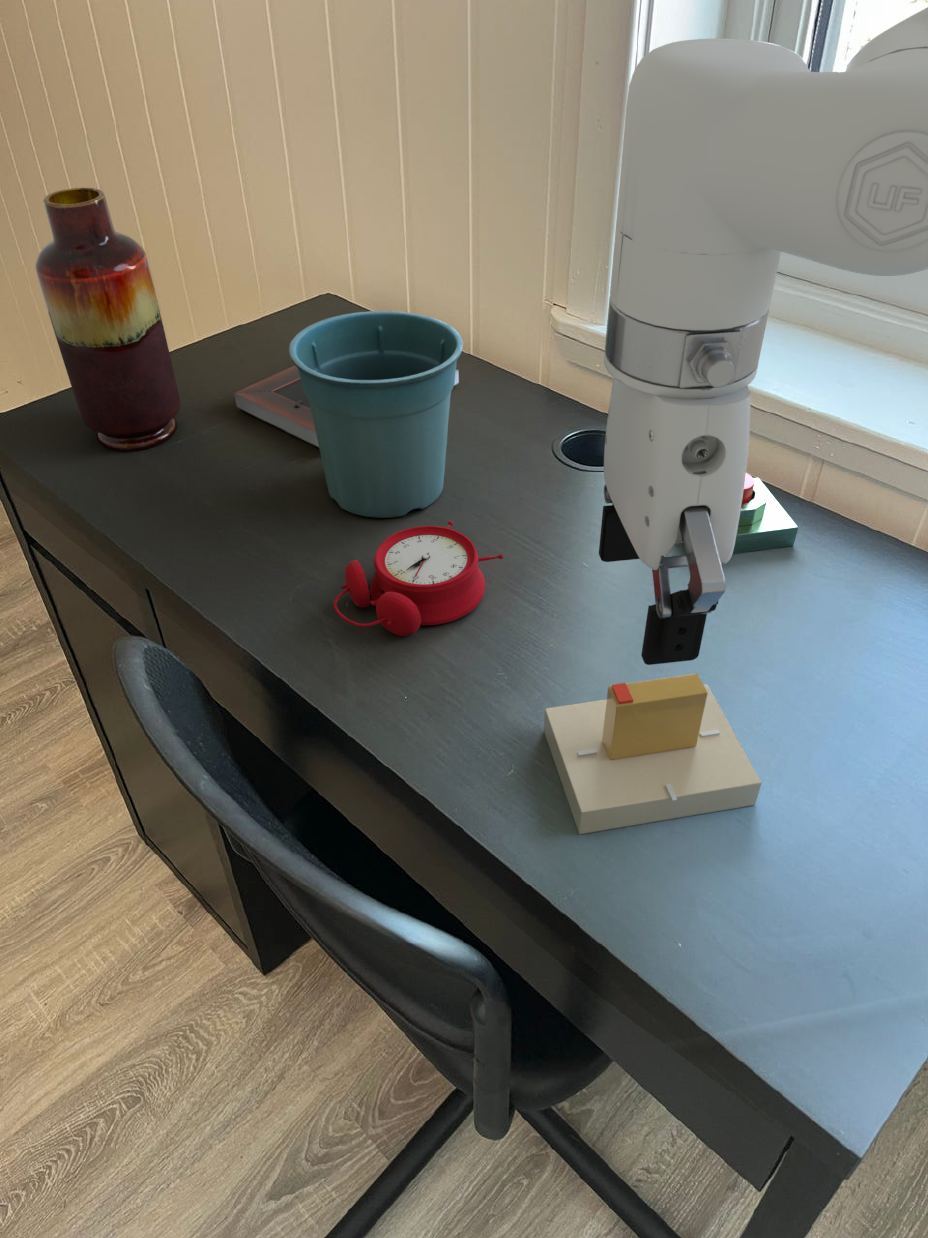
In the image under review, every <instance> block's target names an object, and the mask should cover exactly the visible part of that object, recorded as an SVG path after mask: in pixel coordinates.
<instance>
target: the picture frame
mask: <svg viewBox="0 0 928 1238" xmlns="http://www.w3.org/2000/svg"><path fill="white" fill-rule="evenodd" d="M459 376H460V375H459V369H458V368H456V373H455V383H454V387H455V386H457V385H458V384H459V383H460V378H459ZM233 395H234V399H235V406H236V408H238V409H239V410H240V411H243V412H244V413H246V414H249V415H251V416H253V417H255V418H257V419H259V420H261V421H263V422H265V423H267V424H269V425H272V426H273V427H276V428H277V429H280V430H281V431H284V432H285V433H287V434H289V435H291V436H293V437H295V438H297V439H300V440H302V441H303V442H306V443H308V444H310V445H312V446H315V447H317V448H319V444H318V440H317V435H316V430H315V426H314V421H313V417H312V412H311V408H310V403H309V399H308V398H307V397H306V395H305V393H304V391H303V387H302V383H301V379H300V375H299V371H298V368H297V367H296V365H295V364H294V365H293V366H291V367H288V368H286V369H284V370H282V371H280V372H277V373H275V374H273V375H271V376H268V377H266V378H263V379H262V380H259V381H258V382H255V383H253V384H250V385H248V386H246V387H244V388H242V389H239V390H238V391H235V392H234V393H233Z"/></svg>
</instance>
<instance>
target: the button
mask: <svg viewBox="0 0 928 1238" xmlns="http://www.w3.org/2000/svg"><path fill="white" fill-rule="evenodd" d="M753 478H754V477H753V476H752V475H751V474H750V473H747V472H746V476H745V484H744V491H743V498H742V504H743V503H747V502H749V501H750V500H751V497H752V493H753V488H754V483H755V481H754V479H753Z"/></svg>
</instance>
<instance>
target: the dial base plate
mask: <svg viewBox="0 0 928 1238" xmlns="http://www.w3.org/2000/svg"><path fill="white" fill-rule="evenodd" d="M703 685H704V687H705V689H706V690H707V692H708V694H707V698H706V703H705V708H704V712H703V717H702V722H701V726H700V731H699V736H698V741H697V745H696V746H695V747H689V748H683V749H676V750H670V751H664V752H657V753H651V754H645V755H638V756H632V757H626V758H619V759H613V760H610V758H609V756H608V753H607V751H606V748H605V746H604V743H603V741H602V736H603V728H604V719H605V711H606V702H607V698H605V699H599V700H592V701H586V702H578V703H572V704H566V705H565V704H564V705H560V706H559V705H557V706H552V707H545V708H544V716H543V717H544V718H543V732H544V736H545V738H546V741H547V744H548V748H549V750H550V753H551V756H552V759H553V762H554V765H555V768H556V771H557V774H558V777H559V779H560V782H561V786H562V788H563V791H564V794H565V797H566V800H567V803H568V806H569V808H570V811H571V814H572V816H573V821H574V824H575V826H576V829H577V832H578V835H583V834H590V833H595V832H601V831H607V830H614V829H620V828H626V827H632V826H637V825H643V824H650V823H655V822H656V823H657V822H663V821H668V820H673V819H680V818H685V817H692V816H698V815H703V814H709V813H710V814H711V813H714V812H715V813H716V812H721V811H727V810H733V809H739V808H745V807H751V806H755V805H756V804H757V800H758V797H759V793H760V790H761V786H762V780H761V778H760V777H759V775H758V773H757V771H756V770H755V768H754V766H753V764H752V763H751V761H750V759H749V757H748V755H747V753H746V751H745V750H744V748H743V746H742V744H741V743H740V741H739V739H738V737H737V735H736V734H735V731H734V730H733V728H732V726H731V724H730V722H729V721H728V719H727V717H726V715H725V714H724V711H723V709H722V708H721V706H720V704H719V702H718V701H717V699H716V697H715V695H714V694H713V691H712V690H711V688H710V686H709V685H708V684H703Z"/></svg>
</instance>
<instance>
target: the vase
mask: <svg viewBox="0 0 928 1238" xmlns="http://www.w3.org/2000/svg"><path fill="white" fill-rule="evenodd" d="M43 205H44V209H45V213H46V216H47V220H48V223H49V228H50V231H51V235H52V240H51V241H50V242H49V243H47V244H46V245H45V246H44V247H42V249H41V250H40V252H39V253H38V255H37V257H36V260H35V264H34V265H35V273H36V276H37V279H38V284H39V287H40V291H41V294H42V297H43V300H44V303H45V307H46V310H47V312H48V317H49V319H50V322H51V326H52V329H53V332H54V335H55V338H56V339H55V340H56V342H57V345H58V349H59V351H60V354H61V358H62V360H63V364H64V367H65V370H66V373H67V376H68V380H69V383H70V386H71V389H72V392H73V396H74V399H75V402H76V405H77V408H78V410H79V414H80V416H81V419H82V422H83V424H84V425H85V426H86V427H87V428H88V429H90V430H91V431H94V432H95V433H96V439H97V441H98V443H99V444H100V445H101V446H102V447H104V448H106V449H108V450H111V451H117V452H136V451H137V452H138V451H142V450H147V449H151V448H154V447H156V446H159V445H161V444H163V443H165V442H167V441H168V440H170V439H171V438H172V437H173V436H174V435H175V434H176V432H177V429H178V423H177V420H176V418H175V417H176V416H177V415H178V413H179V411H180V408H181V399H180V394H179V390H178V384H177V379H176V376H175V371H174V366H173V362H172V358H171V354H170V349H169V344H168V340H167V336H166V332H165V331H166V330H165V328H164V327H165V326H164V323H163V322H164V321H163V319H162V315H161V314H162V313H161V310H160V306H159V305H160V304H159V302H158V297H157V293H156V288H155V284H154V280H153V276H152V271H151V268H150V264H149V259H148V256H147V253H146V251H145V250H144V248H143V246H141V244H140V243H138V242H137V241H136V240H135V239H133V238H132V237H130V236H129V235H127V234H125V233H121V232H118V231H116V230H115V227H114V224H113V219H112V216H111V213H110V212H111V211H110V209H109V205H108V202H107V197H106V195H105V192H104V191H103V190H101V189H98V188H94V187H72V188H66V189H61V190H56V191H54V192H51V193H49V194H47V195H46V196H45V197H44V198H43Z"/></svg>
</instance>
